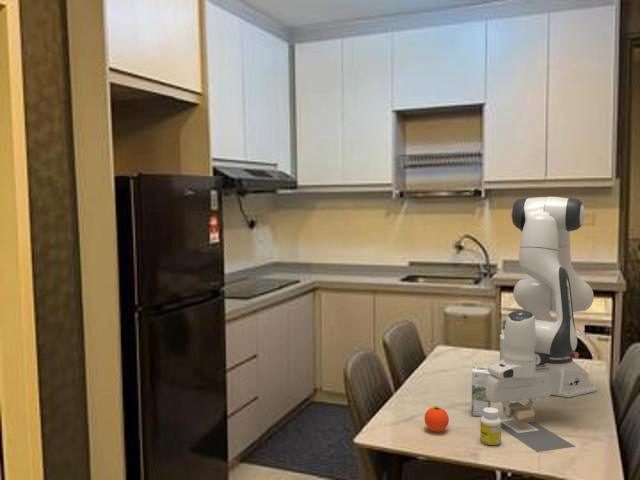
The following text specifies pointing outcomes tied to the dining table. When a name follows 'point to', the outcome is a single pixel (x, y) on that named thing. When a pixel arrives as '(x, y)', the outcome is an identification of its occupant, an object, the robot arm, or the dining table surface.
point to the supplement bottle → (490, 428)
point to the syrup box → (479, 391)
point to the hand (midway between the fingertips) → (518, 413)
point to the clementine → (436, 419)
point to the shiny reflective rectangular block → (521, 413)
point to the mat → (534, 435)
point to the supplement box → (502, 347)
